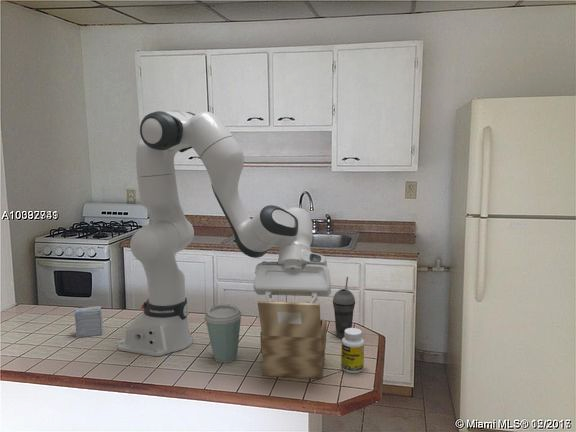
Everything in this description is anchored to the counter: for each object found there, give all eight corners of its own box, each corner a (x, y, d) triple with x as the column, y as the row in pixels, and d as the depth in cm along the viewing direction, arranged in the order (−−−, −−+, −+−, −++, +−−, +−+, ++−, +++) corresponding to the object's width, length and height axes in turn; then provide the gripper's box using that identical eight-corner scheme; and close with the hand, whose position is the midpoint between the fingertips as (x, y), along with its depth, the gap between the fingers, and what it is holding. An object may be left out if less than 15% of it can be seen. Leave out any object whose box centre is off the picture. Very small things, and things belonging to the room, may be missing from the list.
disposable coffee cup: (250, 358, 141) (249, 309, 139) (219, 370, 134) (217, 318, 132) (229, 347, 149) (228, 300, 146) (199, 357, 142) (197, 309, 139)
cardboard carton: (260, 375, 131) (259, 333, 129) (268, 356, 143) (267, 317, 141) (323, 379, 129) (323, 336, 127) (326, 359, 140) (326, 319, 138)
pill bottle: (338, 371, 133) (339, 333, 131) (344, 362, 138) (344, 325, 137) (361, 375, 130) (361, 336, 129) (365, 365, 136) (366, 328, 134)
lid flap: (262, 333, 129) (261, 335, 128) (257, 301, 122) (257, 303, 122) (321, 336, 126) (320, 338, 126) (319, 303, 120) (319, 305, 119)
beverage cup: (340, 330, 161) (340, 271, 158) (359, 335, 157) (360, 275, 154) (327, 337, 156) (328, 276, 153) (347, 342, 151) (347, 281, 148)
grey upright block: (103, 330, 163) (101, 305, 162) (102, 335, 159) (100, 309, 158) (77, 333, 161) (75, 308, 159) (76, 338, 157) (74, 312, 155)
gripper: (254, 255, 130) (247, 302, 122) (331, 256, 127) (329, 305, 119) (258, 267, 135) (252, 313, 127) (332, 268, 132) (330, 316, 124)
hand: (290, 309), depth 123 cm, fingers open, 8 cm apart
